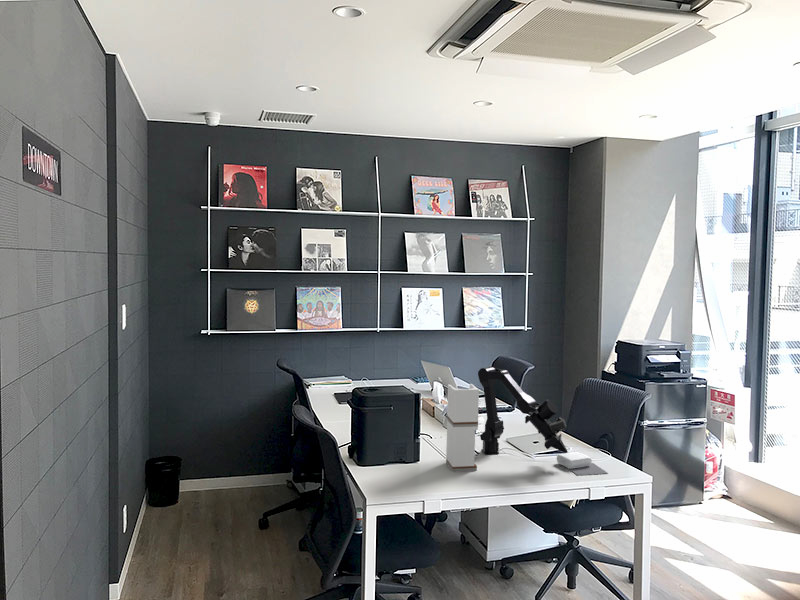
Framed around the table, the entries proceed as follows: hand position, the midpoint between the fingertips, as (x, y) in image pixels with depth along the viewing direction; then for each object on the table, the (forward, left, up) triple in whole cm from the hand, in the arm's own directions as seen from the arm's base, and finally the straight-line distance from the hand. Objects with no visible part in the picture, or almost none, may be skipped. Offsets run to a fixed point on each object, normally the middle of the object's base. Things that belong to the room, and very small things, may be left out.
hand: (566, 452), depth 290 cm
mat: (+8, -3, -7) cm, 11 cm away
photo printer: (-1, +2, -5) cm, 5 cm away
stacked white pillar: (-44, +9, -7) cm, 46 cm away
